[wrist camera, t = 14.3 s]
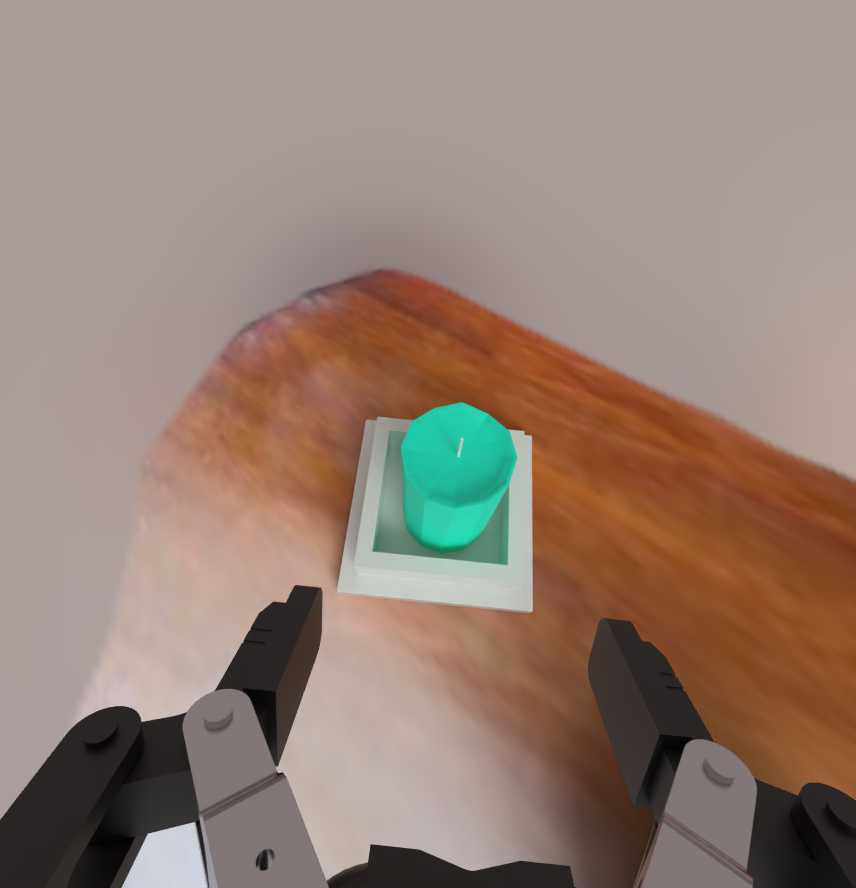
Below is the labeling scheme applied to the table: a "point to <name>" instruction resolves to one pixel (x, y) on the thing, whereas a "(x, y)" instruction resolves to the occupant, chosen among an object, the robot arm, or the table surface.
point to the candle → (454, 475)
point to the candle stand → (423, 570)
